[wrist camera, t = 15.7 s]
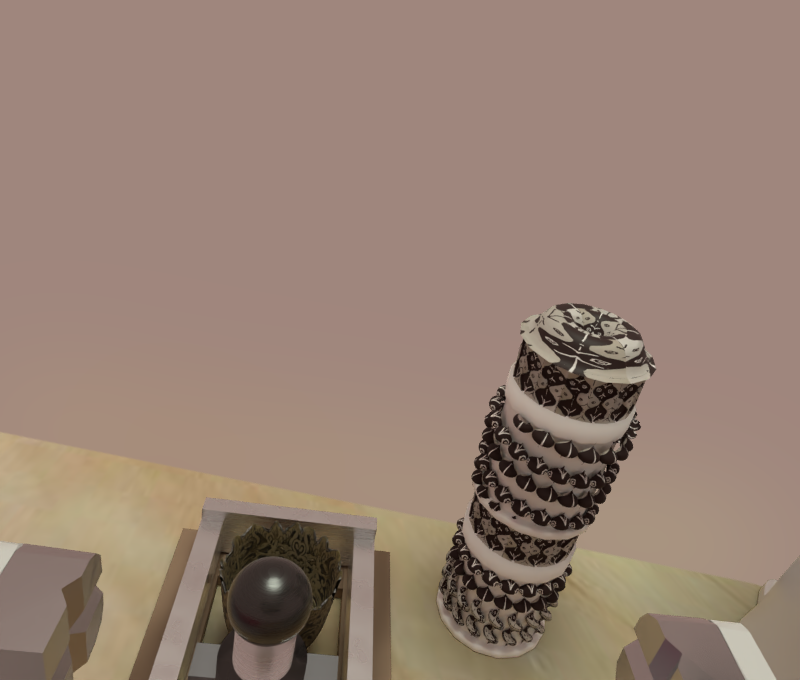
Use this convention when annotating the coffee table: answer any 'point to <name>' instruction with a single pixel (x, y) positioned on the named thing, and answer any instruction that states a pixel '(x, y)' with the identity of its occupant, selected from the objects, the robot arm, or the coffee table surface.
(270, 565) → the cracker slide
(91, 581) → the robot arm
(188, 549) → the base
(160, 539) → the coffee table surface
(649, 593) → the coffee table surface
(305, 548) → the cup
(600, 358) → the decorative candle
